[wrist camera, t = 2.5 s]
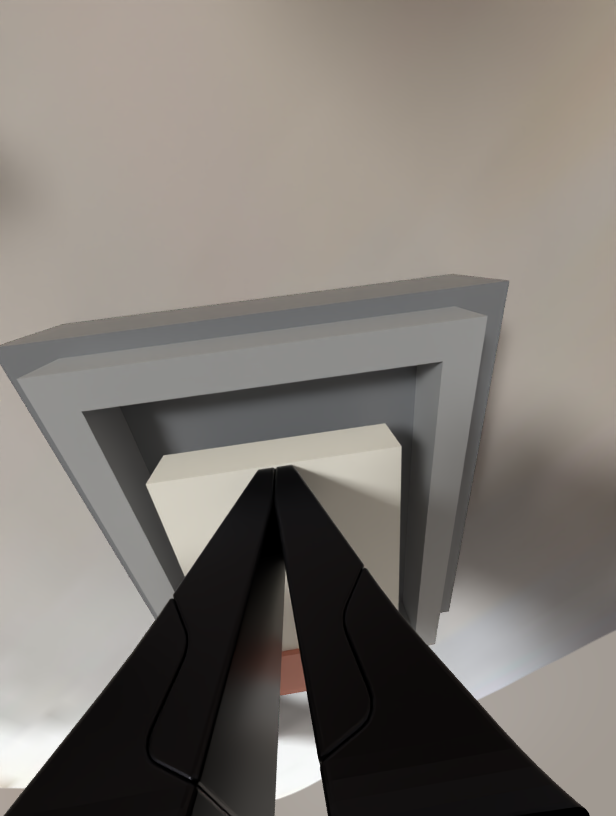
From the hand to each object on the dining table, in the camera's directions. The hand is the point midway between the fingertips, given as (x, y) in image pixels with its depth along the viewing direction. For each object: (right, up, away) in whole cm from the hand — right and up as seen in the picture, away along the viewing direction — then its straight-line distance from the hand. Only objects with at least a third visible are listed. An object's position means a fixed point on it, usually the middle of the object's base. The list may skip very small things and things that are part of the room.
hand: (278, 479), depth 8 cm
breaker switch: (0, -4, +2) cm, 4 cm away
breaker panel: (0, -1, +7) cm, 7 cm away
